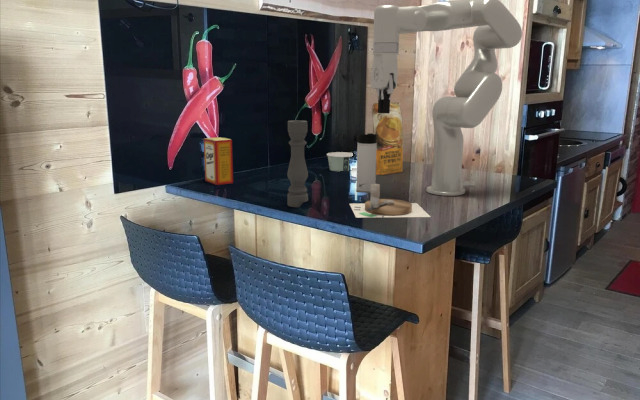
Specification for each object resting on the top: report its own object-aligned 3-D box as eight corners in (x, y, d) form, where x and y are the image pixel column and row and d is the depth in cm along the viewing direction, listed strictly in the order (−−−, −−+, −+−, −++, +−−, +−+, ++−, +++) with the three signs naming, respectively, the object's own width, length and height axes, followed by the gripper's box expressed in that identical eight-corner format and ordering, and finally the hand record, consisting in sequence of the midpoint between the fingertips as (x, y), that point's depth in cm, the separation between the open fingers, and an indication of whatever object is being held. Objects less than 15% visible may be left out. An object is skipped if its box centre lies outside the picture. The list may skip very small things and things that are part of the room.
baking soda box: (205, 180, 199) (203, 137, 195) (221, 178, 202) (220, 136, 199) (216, 185, 191) (215, 139, 188) (233, 183, 195) (231, 138, 191)
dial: (380, 201, 160) (381, 175, 158) (420, 208, 152) (421, 180, 150) (348, 212, 147) (348, 183, 145) (389, 220, 139) (390, 189, 137)
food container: (322, 168, 229) (322, 152, 227) (349, 166, 232) (349, 151, 231) (331, 172, 217) (331, 156, 216) (359, 171, 221) (359, 155, 220)
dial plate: (416, 208, 160) (416, 202, 159) (430, 222, 144) (430, 216, 144) (349, 208, 158) (349, 202, 158) (355, 222, 143) (356, 216, 142)
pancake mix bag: (364, 174, 215) (366, 102, 208) (396, 169, 227) (399, 101, 220) (376, 176, 210) (378, 103, 203) (409, 171, 222) (412, 102, 215)
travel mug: (360, 195, 176) (361, 133, 172) (353, 191, 183) (355, 131, 178) (378, 194, 178) (380, 133, 174) (371, 190, 184) (372, 131, 180)
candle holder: (307, 202, 166) (308, 120, 160) (308, 207, 159) (308, 122, 154) (287, 202, 165) (287, 120, 160) (287, 207, 159) (286, 122, 154)
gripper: (364, 50, 165) (363, 111, 169) (383, 48, 151) (381, 115, 155) (387, 51, 167) (385, 111, 171) (408, 49, 153) (405, 114, 157)
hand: (383, 113), depth 163 cm, fingers closed
